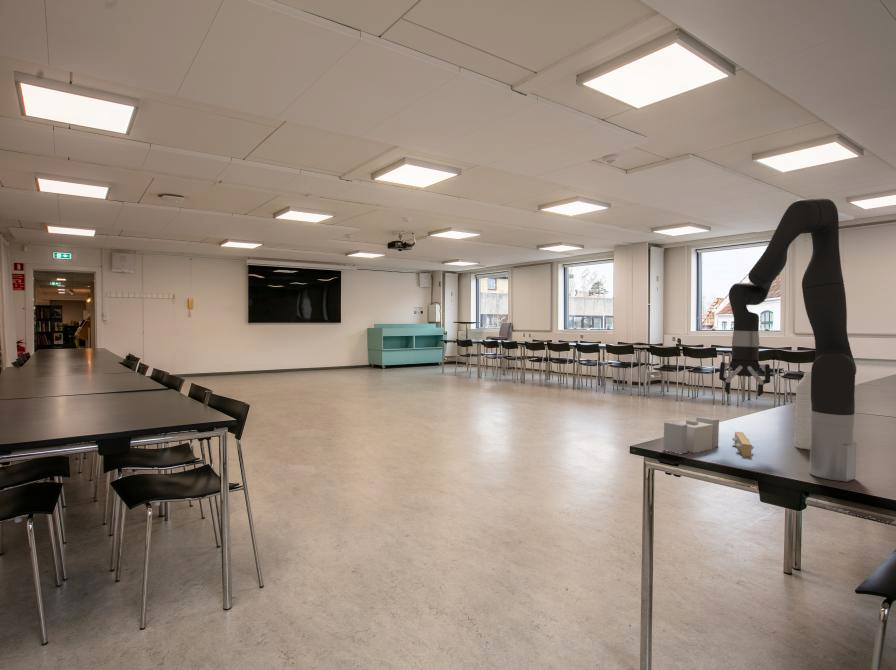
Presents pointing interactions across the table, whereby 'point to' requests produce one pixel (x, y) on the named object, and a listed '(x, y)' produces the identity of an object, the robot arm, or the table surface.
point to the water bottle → (803, 413)
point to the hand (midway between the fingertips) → (743, 394)
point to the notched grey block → (691, 435)
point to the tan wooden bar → (743, 444)
